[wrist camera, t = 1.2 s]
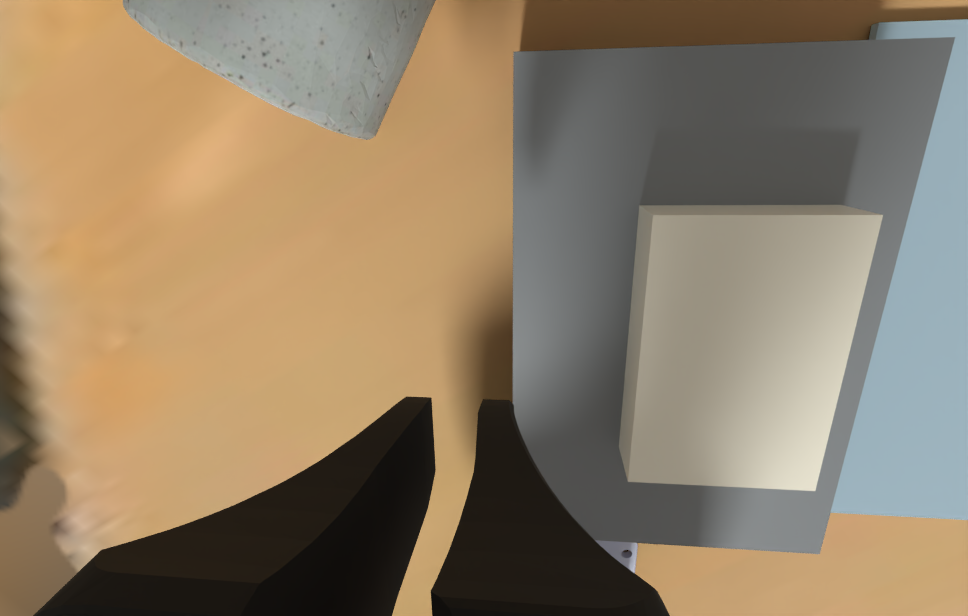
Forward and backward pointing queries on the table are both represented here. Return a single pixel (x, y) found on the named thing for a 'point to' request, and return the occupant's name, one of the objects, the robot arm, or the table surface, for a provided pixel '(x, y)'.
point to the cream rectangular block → (740, 340)
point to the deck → (691, 181)
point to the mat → (921, 329)
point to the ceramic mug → (298, 51)
